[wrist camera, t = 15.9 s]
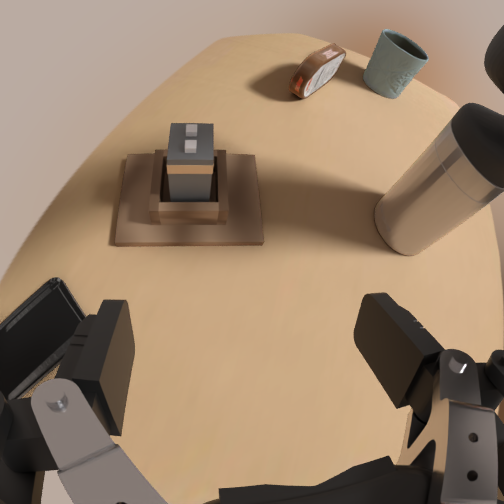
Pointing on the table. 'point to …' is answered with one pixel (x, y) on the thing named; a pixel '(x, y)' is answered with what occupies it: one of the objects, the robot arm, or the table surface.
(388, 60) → the teal embossed cup
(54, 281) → the phone
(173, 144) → the cell
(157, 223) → the dock
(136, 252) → the table surface
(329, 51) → the tin
